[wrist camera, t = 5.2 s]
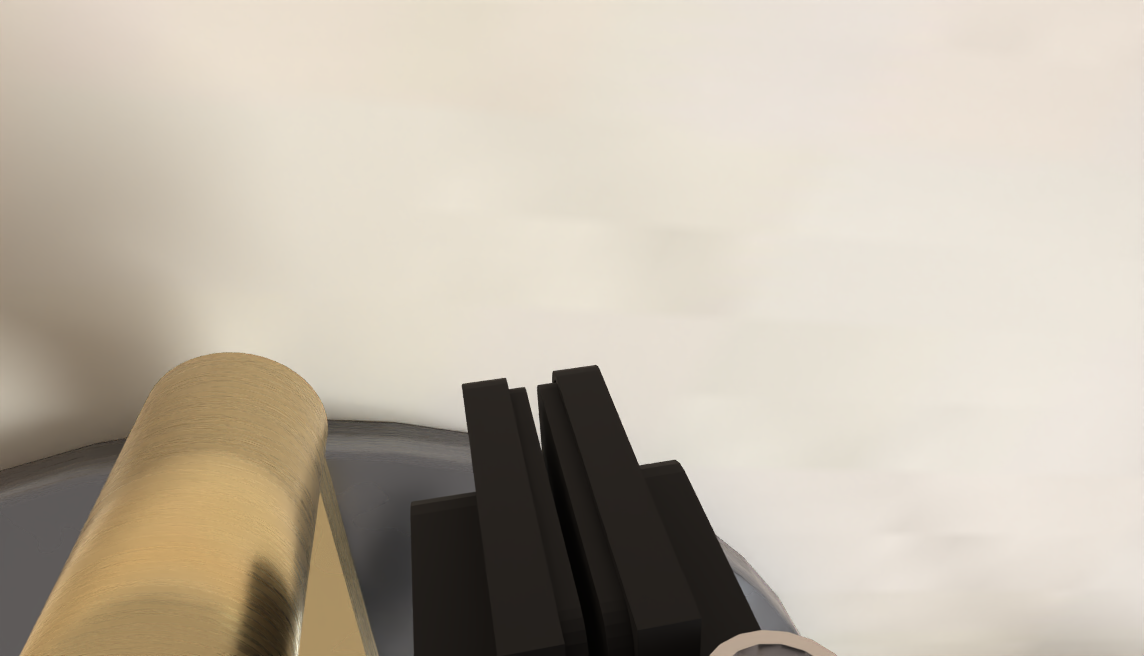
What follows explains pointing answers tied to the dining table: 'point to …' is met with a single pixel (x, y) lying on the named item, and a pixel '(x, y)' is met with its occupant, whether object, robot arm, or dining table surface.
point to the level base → (366, 502)
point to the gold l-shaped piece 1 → (214, 529)
